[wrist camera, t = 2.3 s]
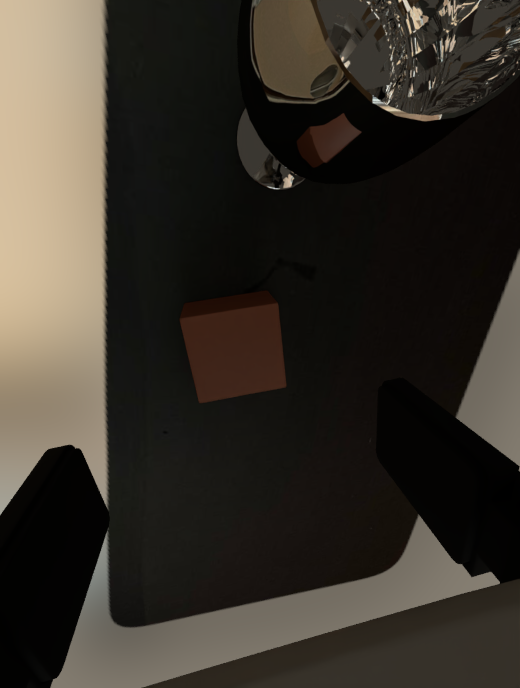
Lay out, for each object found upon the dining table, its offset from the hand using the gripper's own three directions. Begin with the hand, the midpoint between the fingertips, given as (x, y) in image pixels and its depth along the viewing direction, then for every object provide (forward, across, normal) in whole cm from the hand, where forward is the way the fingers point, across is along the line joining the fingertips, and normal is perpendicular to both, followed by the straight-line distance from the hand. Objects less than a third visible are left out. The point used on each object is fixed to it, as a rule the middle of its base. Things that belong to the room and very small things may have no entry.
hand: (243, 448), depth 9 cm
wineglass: (+10, -5, -10) cm, 15 cm away
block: (+10, 0, 0) cm, 10 cm away
